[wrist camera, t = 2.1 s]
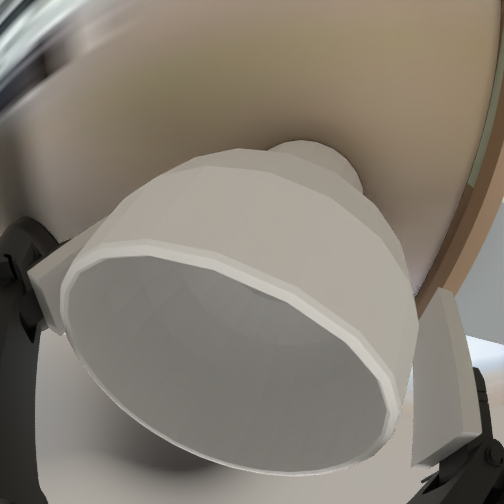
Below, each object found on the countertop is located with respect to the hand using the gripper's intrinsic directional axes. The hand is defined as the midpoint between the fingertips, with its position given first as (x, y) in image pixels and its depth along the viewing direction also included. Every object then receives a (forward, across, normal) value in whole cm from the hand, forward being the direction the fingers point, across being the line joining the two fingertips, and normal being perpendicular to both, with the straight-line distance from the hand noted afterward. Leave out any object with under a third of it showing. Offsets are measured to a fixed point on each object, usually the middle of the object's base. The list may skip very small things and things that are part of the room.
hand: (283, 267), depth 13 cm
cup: (+8, -1, 0) cm, 8 cm away
